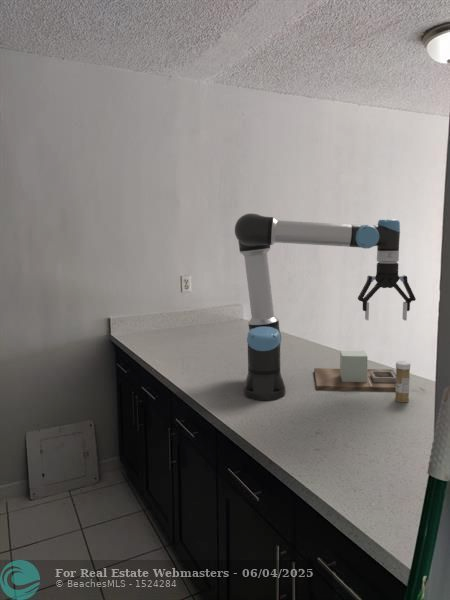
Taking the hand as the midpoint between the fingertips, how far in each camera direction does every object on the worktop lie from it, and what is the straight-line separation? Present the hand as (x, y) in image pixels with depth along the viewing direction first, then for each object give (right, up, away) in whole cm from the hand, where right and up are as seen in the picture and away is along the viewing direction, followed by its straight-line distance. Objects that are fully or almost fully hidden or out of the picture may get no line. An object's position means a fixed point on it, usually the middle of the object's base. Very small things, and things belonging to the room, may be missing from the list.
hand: (385, 319), depth 176 cm
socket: (0, -23, +4) cm, 23 cm away
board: (-9, -24, +7) cm, 26 cm away
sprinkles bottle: (+1, -27, -14) cm, 31 cm away
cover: (-11, -23, +5) cm, 26 cm away
